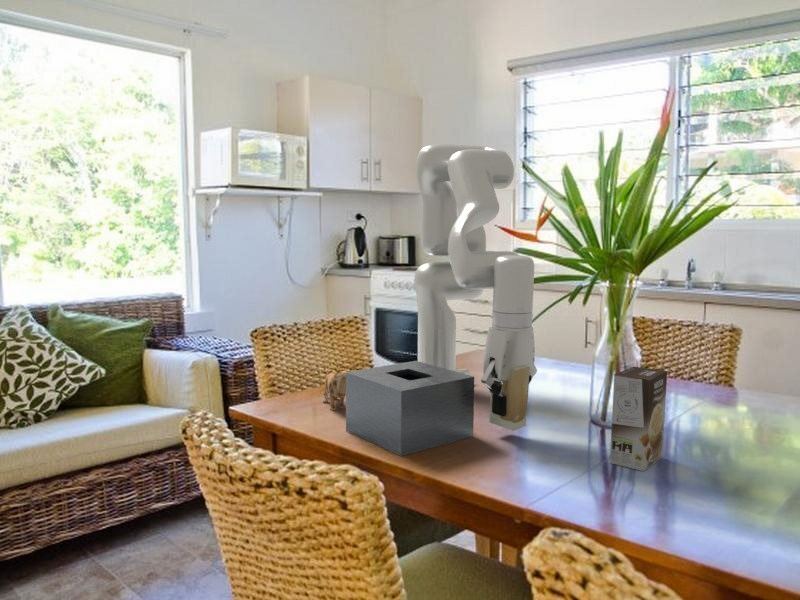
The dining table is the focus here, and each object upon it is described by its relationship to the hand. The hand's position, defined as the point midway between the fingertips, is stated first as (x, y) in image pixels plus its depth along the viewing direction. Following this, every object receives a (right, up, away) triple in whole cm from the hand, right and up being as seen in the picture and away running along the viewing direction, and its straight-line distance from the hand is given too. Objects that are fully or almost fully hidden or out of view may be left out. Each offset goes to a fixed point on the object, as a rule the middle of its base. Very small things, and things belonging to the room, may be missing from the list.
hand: (508, 410), depth 131 cm
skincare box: (0, -3, +1) cm, 3 cm away
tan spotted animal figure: (-36, -3, +22) cm, 42 cm away
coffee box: (+21, -7, -12) cm, 25 cm away
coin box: (-19, -5, +2) cm, 20 cm away
